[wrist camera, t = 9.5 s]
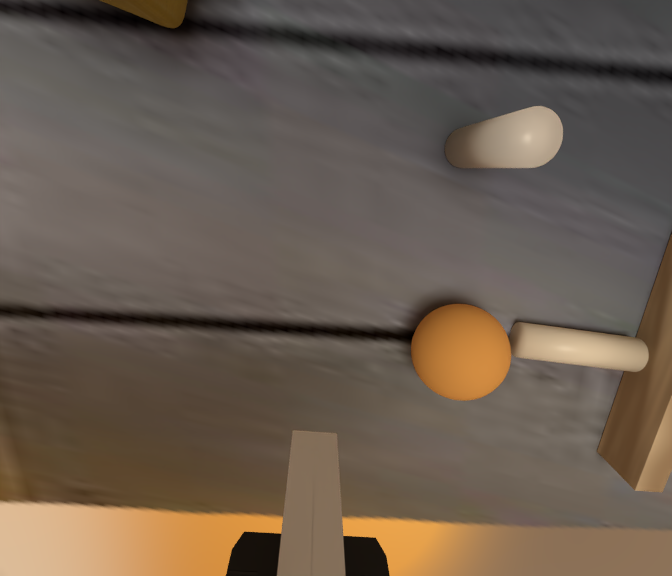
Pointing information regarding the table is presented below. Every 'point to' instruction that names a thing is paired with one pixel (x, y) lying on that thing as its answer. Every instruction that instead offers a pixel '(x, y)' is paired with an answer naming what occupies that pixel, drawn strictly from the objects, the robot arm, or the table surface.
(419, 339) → the ball
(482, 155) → the beige tapered peg
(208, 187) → the table surface
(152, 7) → the flower pot
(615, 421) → the back wall
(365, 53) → the table surface
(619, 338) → the cream pin
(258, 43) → the table surface
